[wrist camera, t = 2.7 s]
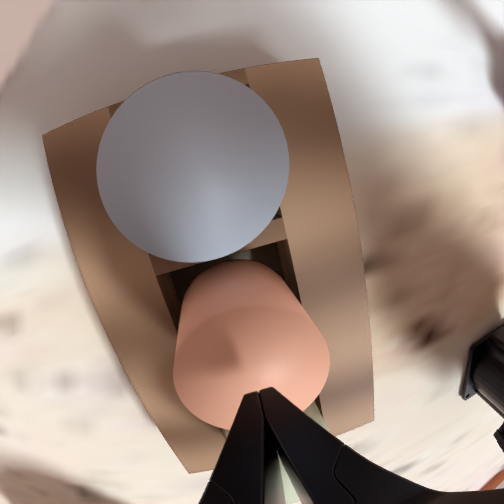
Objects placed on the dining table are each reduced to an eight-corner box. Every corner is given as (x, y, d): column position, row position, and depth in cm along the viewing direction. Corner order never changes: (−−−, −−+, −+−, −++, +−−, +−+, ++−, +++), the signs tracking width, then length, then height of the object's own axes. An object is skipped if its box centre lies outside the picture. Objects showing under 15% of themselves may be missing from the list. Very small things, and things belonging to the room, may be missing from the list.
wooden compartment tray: (356, 393, 20) (374, 420, 17) (188, 441, 19) (188, 473, 16) (298, 76, 14) (318, 57, 11) (69, 140, 13) (42, 135, 10)
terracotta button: (301, 342, 15) (336, 405, 10) (201, 371, 15) (203, 443, 10) (280, 245, 14) (317, 283, 9) (165, 277, 13) (148, 331, 9)
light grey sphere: (271, 211, 13) (307, 233, 9) (154, 243, 13) (129, 283, 8) (242, 94, 12) (262, 54, 7) (122, 128, 11) (79, 106, 7)
